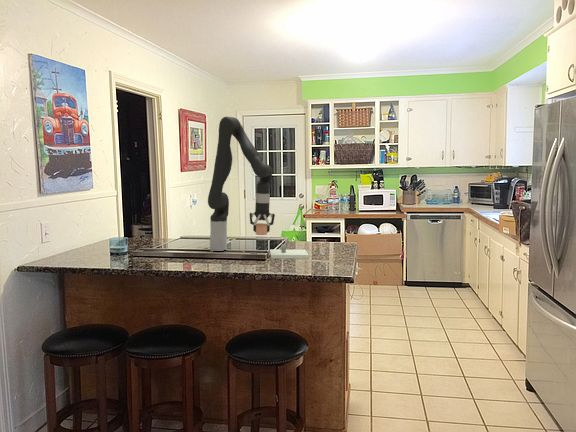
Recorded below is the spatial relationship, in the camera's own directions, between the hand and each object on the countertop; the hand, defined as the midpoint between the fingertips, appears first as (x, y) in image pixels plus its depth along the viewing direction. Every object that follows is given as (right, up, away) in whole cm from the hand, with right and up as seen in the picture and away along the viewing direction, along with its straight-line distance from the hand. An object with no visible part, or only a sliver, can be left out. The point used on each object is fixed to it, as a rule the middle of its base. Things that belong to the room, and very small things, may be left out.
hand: (261, 232), depth 260 cm
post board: (+15, -13, +2) cm, 20 cm away
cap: (0, -1, 0) cm, 1 cm away
